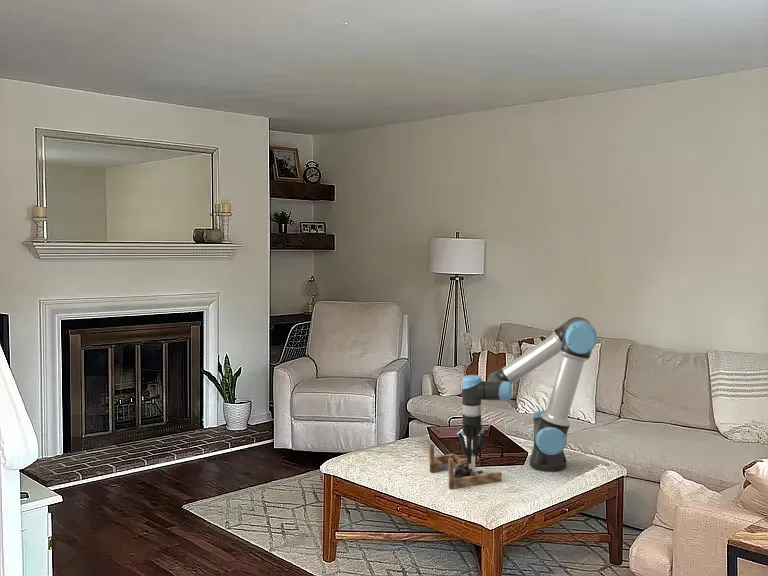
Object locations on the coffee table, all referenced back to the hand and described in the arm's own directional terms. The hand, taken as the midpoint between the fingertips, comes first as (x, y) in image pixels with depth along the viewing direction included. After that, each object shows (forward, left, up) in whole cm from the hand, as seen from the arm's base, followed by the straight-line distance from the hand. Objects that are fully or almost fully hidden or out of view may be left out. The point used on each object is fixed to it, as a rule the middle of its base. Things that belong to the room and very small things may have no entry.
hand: (472, 470), depth 313 cm
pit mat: (+5, -13, -2) cm, 14 cm away
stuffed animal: (+3, 0, -2) cm, 4 cm away
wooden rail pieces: (+3, -4, -2) cm, 5 cm away
